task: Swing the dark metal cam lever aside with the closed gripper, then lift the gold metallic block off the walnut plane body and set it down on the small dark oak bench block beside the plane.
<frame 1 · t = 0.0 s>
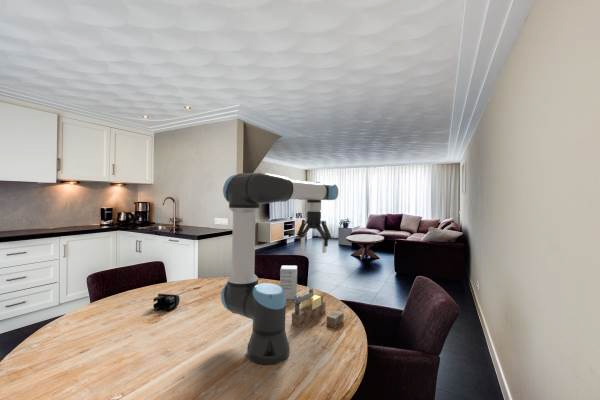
hand: (313, 251, 147), 28 cm above the table, fingers open, 13 cm apart
gold metallic block: (311, 305, 131), point 5 cm above the table, touching plane body
plane body: (309, 317, 130), on the table
supplement box: (288, 297, 158), on the table
end cap: (166, 309, 138), on the table
bench block: (335, 323, 125), on the table
lever: (304, 295, 126), point 11 cm above the table, hinge at 0.0°
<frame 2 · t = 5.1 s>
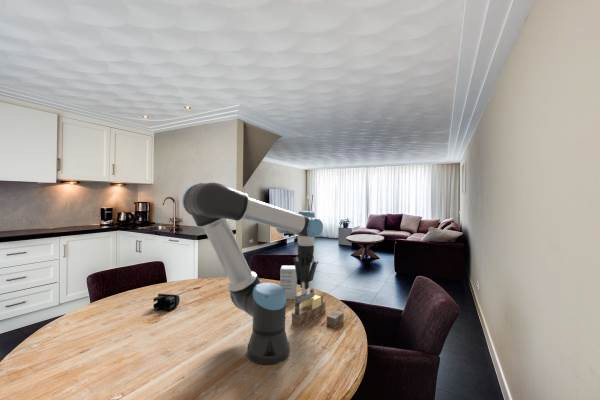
hand: (304, 295, 128), 11 cm above the table, fingers closed
lever: (304, 295, 126), point 11 cm above the table, hinge at 2.4°, touching gripper
everything else where it was.
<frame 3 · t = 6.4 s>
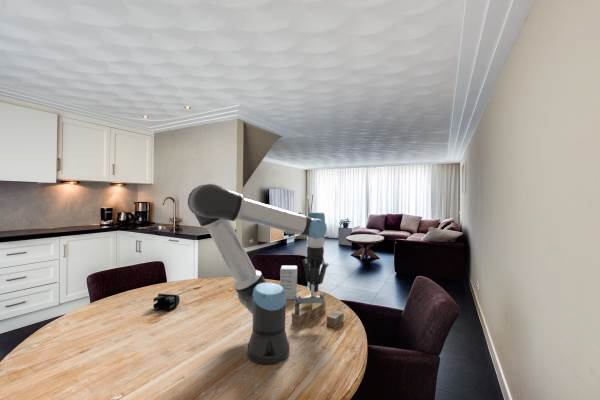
hand: (313, 298, 125), 11 cm above the table, fingers closed
lever: (309, 298, 123), point 11 cm above the table, hinge at 47.0°, touching gripper
everything else where it was.
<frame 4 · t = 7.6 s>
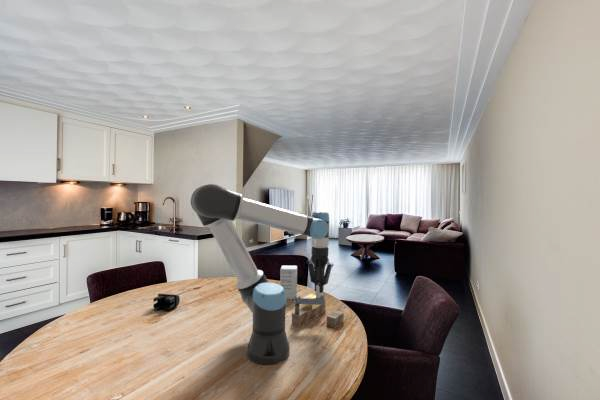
hand: (318, 299, 124), 11 cm above the table, fingers closed
lever: (309, 299, 122), point 11 cm above the table, hinge at 57.3°, touching gripper
everything else where it was.
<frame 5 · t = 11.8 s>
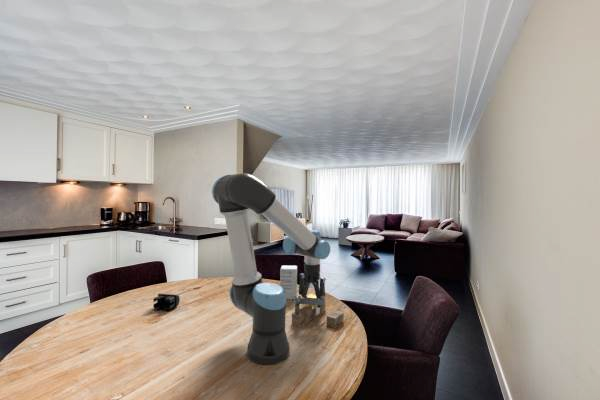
hand: (311, 312, 131), 2 cm above the table, fingers closed on gold metallic block, 6 cm apart
gold metallic block: (311, 305, 131), point 5 cm above the table, touching gripper, plane body
lever: (309, 299, 122), point 11 cm above the table, hinge at 61.0°
everything else where it was.
when the fingers open (2 cm above the table, at t = 17.1 s): gold metallic block drops 1 cm, resting on bench block.
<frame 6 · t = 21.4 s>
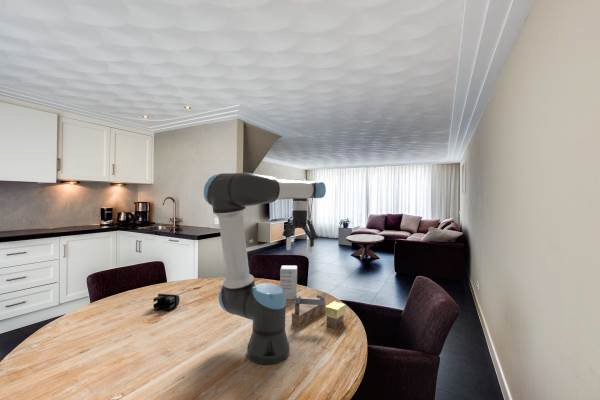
hand: (299, 251, 142), 29 cm above the table, fingers open, 13 cm apart
gold metallic block: (335, 314, 125), point 4 cm above the table, touching bench block
everything else where it was.
at the end: lever at +61° (first picture: +0°); gold metallic block inside the target area on the bench block (0.0 cm from its centre), point 4.0 cm above the bench block's base; gold metallic block tilted 0° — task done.
